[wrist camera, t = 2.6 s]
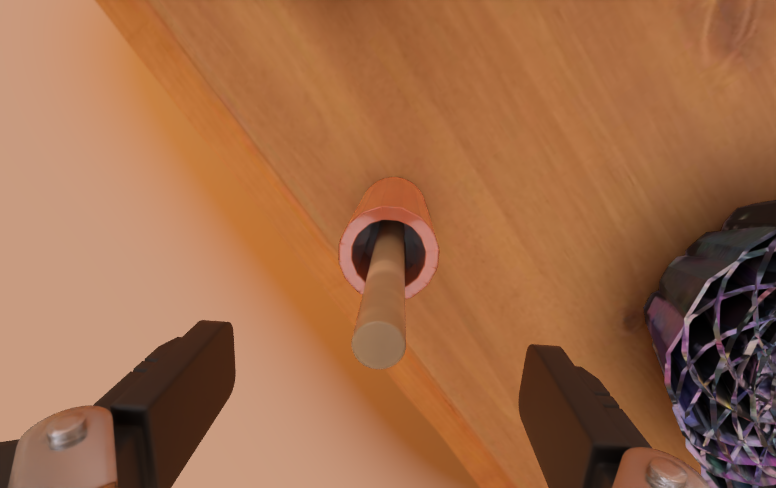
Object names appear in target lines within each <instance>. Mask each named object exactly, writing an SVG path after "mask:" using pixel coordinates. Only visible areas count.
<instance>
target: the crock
mask: <svg viewBox="0 0 776 488" xmlns="http://www.w3.org/2000/svg"><path fill="white" fill-rule="evenodd" d="M381 220H393V221H399V222H401V223H404V253H405V299H407V298H411V297H413V296H415V295H416V294H417V293H419V292H420V291H421V290H422V289H424V288H425V287H426V286H427V285H428V284H429V283H430V281H431V279H432V277H433V276H434V274H435V272H436V270H437V267H438V259H439V246H438V243H437V239H436V236H435V233H434V229H433V226H432V223H431V220H430V216H429V213H428V210H427V206H426V203H425V200H424V197H423V194H422V193H421V191H420V190H419V189H418V188H417V187H416V186H415V185H414V184H413V183H412V182H410V181H408V180H406V179H403V178H399V177H388V178H384V179H381V180H379V181H377V182H375V183H374V184H373V185H372V186H371V187H370V188H369V189H368V190H367V191H366V193H365V195H364V196H363V198H362V200H361V202H360V203H359V205H358V207H357V209H356V211H355V212H354V214H353V216H352V218H351V219H350V221H349V223H348V225H347V226H346V229H345V231H344V233H343V235H342V237H341V239H340V243H339V259H338V260H339V265H340V267H341V270H342V272H343V275H344V277H345V279H346V280H347V281H348V282H349V283H350V284H351V285H352V286H353V287H354V288H355V289H356V290H357V291H358V292H359V293H360V294H362V295H363V291H364V287H365V283H366V279H367V274H368V270H369V266H370V262H371V258H372V254H373V249H374V245H375V241H376V237H377V233H378V228H379V224H380V221H381Z"/></svg>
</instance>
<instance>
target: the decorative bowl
mask: <svg viewBox="0 0 776 488" xmlns="http://www.w3.org/2000/svg"><path fill="white" fill-rule="evenodd" d="M643 309H644V315H645V321H646V325H647V327H648V330H649V332H650V335H651V338H652V340H653V341H652V346H653V348H654V351H655V353H656V356H657V358H658V361H659V363H660V366H661V368H662V373H663V375H664V378H665V387H666V389H667V392H668V394H669V397H670V399H671V402H672V404H673V407H672V410H673V412H674V415H675V417H676V420H677V422H678V425H679V427H680V429H681V432H682V434H683V435H684V436H685V437H686V448H687V449H688V450H689V452H690V453H691V454H692V455H693V456H694V458H695V459H696V460H697V461H698V462H699V464H700V465H701V476H702V477H703V478H704V479H705V480H706V482H707V483H708V484H709V486H710V487H711V488H776V200H772V201H767V202H761V203H755V204H751V205H747V206H744V207H740V208H737V209H736V210H735V211H734V212H733V213H732V214H731V215H730V216H729V218H728V219H727V220H726V221H725V222H724V224H723V227H722V229H721V231H715V232H706V233H705V234H704V235H703V236H701V237H700V238H699V239H698V240H697V241H696V242H694V243H693V244H692V245H691V246H690V247H689V248H688V249H687V250H686V251H685V255H684V256H679V257H676V258H675V259H674V260H673V261H672V262H671V263H670V264H669V266H668V267H667V269H666V270H665V272H664V274H663V276H662V277H661V279H660V282H659V290H658V291H656V292H654V293H652V294H651V295H650V297H649V299H648V300H647V302H646V304H645V305H644V307H643Z"/></svg>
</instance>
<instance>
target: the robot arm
mask: <svg viewBox="0 0 776 488" xmlns="http://www.w3.org/2000/svg"><path fill="white" fill-rule="evenodd" d="M234 382H235V355H234V336H233V327H232V325H231V323H230V322H220V321H206V320H202V321H199V322H198V323H197V324H196V325H195V326H194V327H193V328H191V329H190V330H189V331H188V332H187V333H186V334H185V335H184V336H183V337H177V338H175V339H173V340H171V341H169V342H167V343H165V344H163V345H161V346H159V347H158V348H157V349H155V350H154V351H153V352H152V353H151V354H150V355H149V356H148V357H147V358H145V361H142V362H141V363H140V364H139V365H138V366H136V367H135V368H134V370H133V372H130V373H129V374H127V375H126V376H125V377H124V378H123V379H122V380H121V381H120V382H118V383H117V384H116V385H115V386H114V387H113V388H112V389H111V390H110V391H109V392H107V393H106V394H105V395H104V396H103V397H102V398H101V399H99V400H98V401H97V402H96V403H95V404H94V405H93V406H81V407H75V408H71V409H67V410H64V411H61V412H58V413H56V414H53V415H51V416H49V417H47V418H45V419H43V420H41V421H40V422H38V423H37V424H35V425H34V426H32V427H31V428H30V429H29V430H27V431H26V432H25V433H24V434H23V436H22V437H21V438H20V439H19V440H12V441H6V442H0V488H171V487H172V485H173V484H174V482H175V481H176V479H177V478H178V476H179V474H180V473H181V471H182V470H183V468H184V467H185V465H186V464H187V462H188V460H189V459H190V457H191V456H192V454H193V453H194V451H195V449H196V448H197V446H198V445H199V443H200V442H201V440H202V439H203V437H204V436H205V434H206V433H207V431H208V430H209V428H210V426H211V425H212V423H213V422H214V420H215V419H216V417H217V416H218V414H219V412H220V411H221V409H222V408H223V406H224V405H225V403H226V402H227V400H228V399H229V397H230V395H231V393H232V390H233V387H234ZM519 412H520V417H521V420H522V423H523V425H524V428H525V430H526V433H527V435H528V437H529V440H530V442H531V445H532V447H533V450H534V452H535V455H536V457H537V460H538V462H539V465H540V467H541V470H542V472H543V475H544V477H545V479H546V482H547V484H548V487H549V488H710V486H709V484H708V483H707V482H706V480H705V479H704V478H703V477H702V476H701V475H700V474H699V473H698V472H697V471H695V470H694V469H693V468H692V467H690V466H689V465H688V464H686V463H685V462H683V461H681V460H680V459H678V458H676V457H674V456H672V455H670V454H667V453H665V452H663V451H659V450H656V449H652V447H651V446H650V445H649V443H648V442H647V441H646V440H645V438H644V437H643V436H642V434H641V433H640V432H639V431H638V429H637V428H636V427H635V425H634V424H633V423H632V422H631V420H630V419H629V418H628V416H627V415H626V414H625V413H624V411H623V410H622V409H619V405H618V404H617V402H616V401H615V400H614V398H613V397H611V396H610V393H609V392H608V391H607V389H606V388H605V387H604V386H603V384H602V383H601V382H600V380H599V379H597V378H596V377H595V376H593V375H592V374H591V373H589V372H588V371H586V370H585V369H584V368H582V367H577V366H574V364H573V363H572V361H571V360H570V359H569V357H568V356H567V355H566V353H565V352H564V350H563V349H562V348H561V347H559V346H548V345H534V344H531V345H529V347H528V349H527V352H526V358H525V363H524V369H523V375H522V381H521V386H520V392H519Z"/></svg>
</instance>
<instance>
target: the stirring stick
mask: <svg viewBox="0 0 776 488" xmlns="http://www.w3.org/2000/svg"><path fill="white" fill-rule="evenodd" d="M405 349H406V318H405V253H404V223H401V222H399V221H393V220H381V221H380V224H379V228H378V233H377V237H376V241H375V245H374V249H373V254H372V258H371V262H370V266H369V270H368V274H367V279H366V283H365V287H364V291H363V295H362V300H361V304H360V308H359V312H358V316H357V321H356V325H355V329H354V334H353V338H352V350H353V353H354V355H355V357H356V358H357V359H358V360H359V362H361V363H362V364H363V365H365V366H367V367H369V368H373V369H386V368H389V367H392V366H394V365H395V364H397V363H398V362H399V361H400V360H401V358H402V357H403V355H404V353H405Z"/></svg>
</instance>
